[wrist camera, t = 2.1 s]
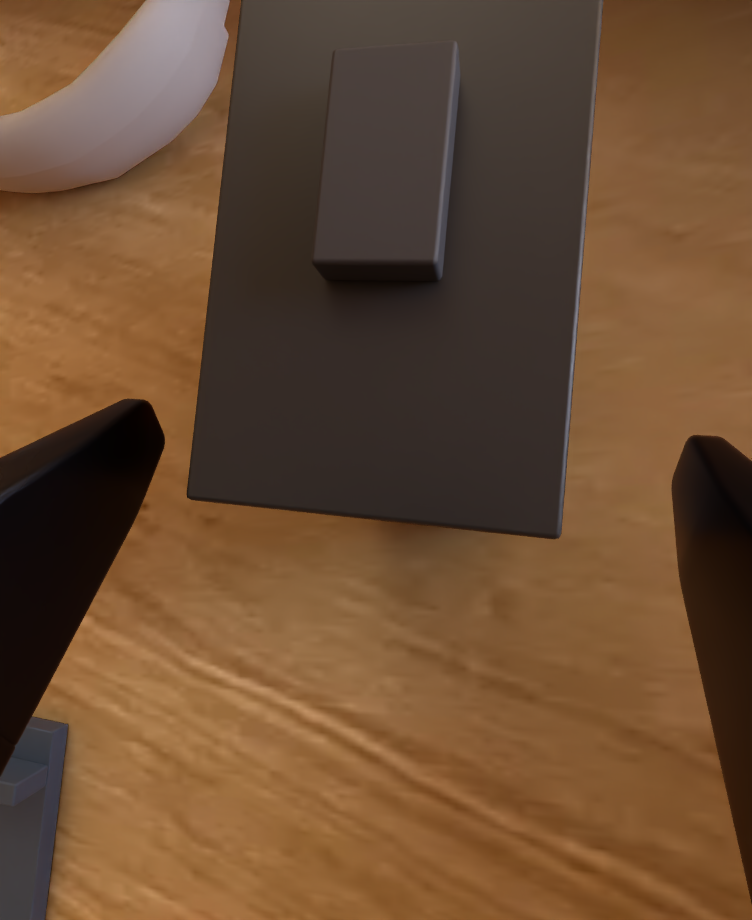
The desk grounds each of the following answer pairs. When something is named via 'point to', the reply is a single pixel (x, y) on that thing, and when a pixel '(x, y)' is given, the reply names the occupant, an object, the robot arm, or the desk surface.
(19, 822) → the stand
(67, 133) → the headphones
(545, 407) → the battery pack
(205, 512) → the desk surface
